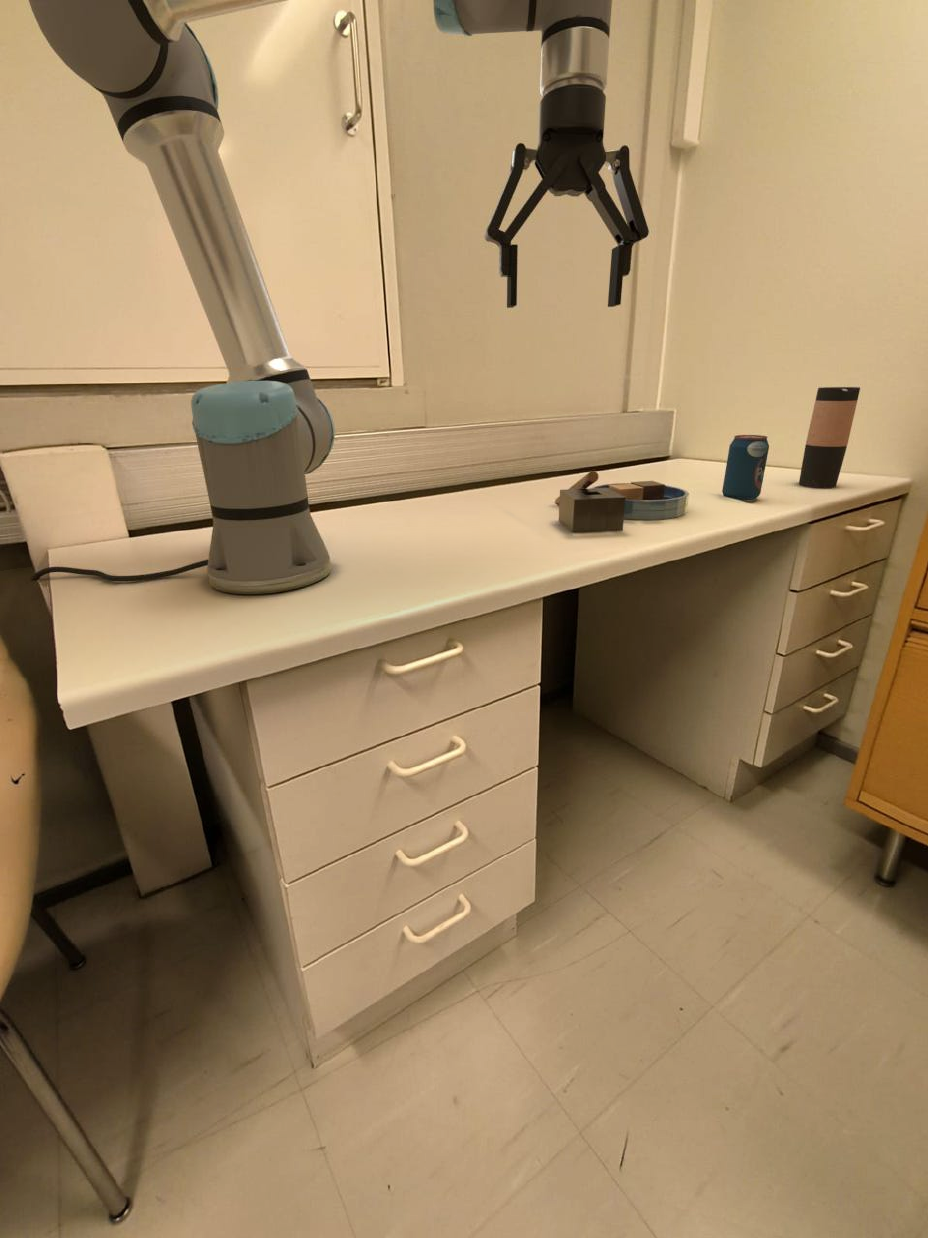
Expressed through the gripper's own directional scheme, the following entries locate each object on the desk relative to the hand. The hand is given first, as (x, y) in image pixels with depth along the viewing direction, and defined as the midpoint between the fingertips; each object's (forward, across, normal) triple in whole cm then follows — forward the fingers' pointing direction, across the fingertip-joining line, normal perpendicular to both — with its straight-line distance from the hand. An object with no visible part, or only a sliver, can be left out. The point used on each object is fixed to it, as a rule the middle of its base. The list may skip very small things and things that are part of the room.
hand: (563, 306), depth 73 cm
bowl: (+32, -20, -17) cm, 41 cm away
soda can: (+32, -45, -25) cm, 61 cm away
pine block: (+31, -17, -16) cm, 39 cm away
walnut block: (+31, -22, -18) cm, 42 cm away
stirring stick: (+23, -8, -7) cm, 26 cm away
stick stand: (+32, -8, -7) cm, 33 cm away
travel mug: (+32, -69, -35) cm, 84 cm away
